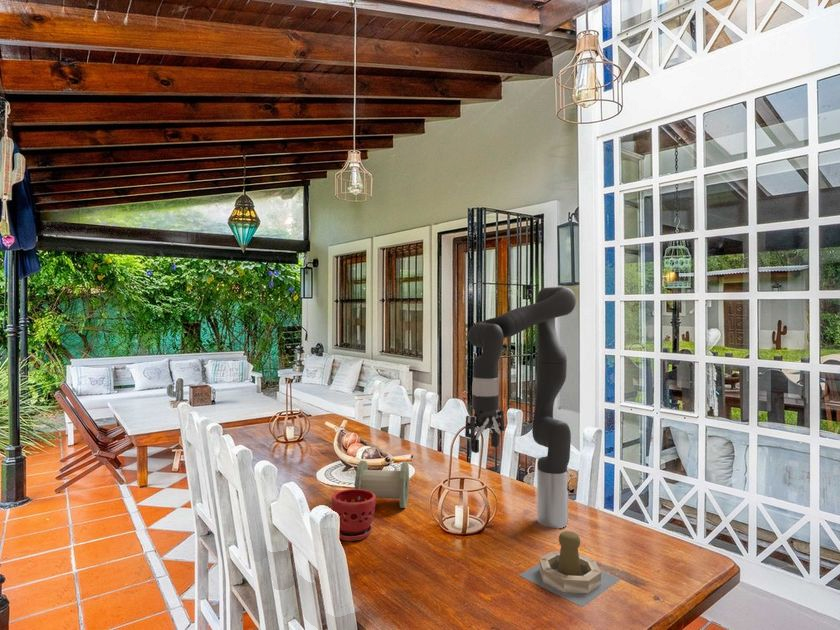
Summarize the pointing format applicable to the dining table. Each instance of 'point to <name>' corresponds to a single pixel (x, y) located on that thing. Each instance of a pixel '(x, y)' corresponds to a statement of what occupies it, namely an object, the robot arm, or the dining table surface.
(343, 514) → the plant pot
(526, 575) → the slate mat
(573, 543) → the olive pawn peg
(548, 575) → the wooden ring
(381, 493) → the spool
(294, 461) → the dining table surface
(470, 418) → the robot arm
